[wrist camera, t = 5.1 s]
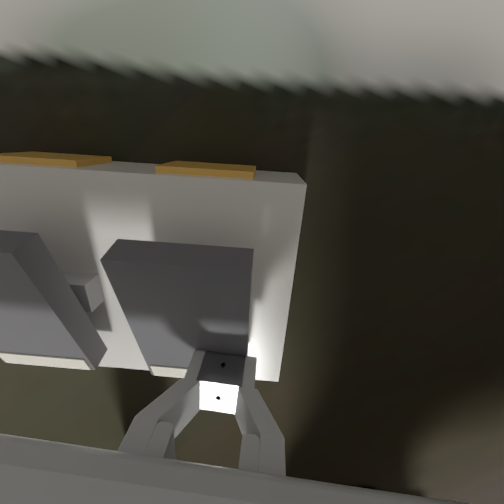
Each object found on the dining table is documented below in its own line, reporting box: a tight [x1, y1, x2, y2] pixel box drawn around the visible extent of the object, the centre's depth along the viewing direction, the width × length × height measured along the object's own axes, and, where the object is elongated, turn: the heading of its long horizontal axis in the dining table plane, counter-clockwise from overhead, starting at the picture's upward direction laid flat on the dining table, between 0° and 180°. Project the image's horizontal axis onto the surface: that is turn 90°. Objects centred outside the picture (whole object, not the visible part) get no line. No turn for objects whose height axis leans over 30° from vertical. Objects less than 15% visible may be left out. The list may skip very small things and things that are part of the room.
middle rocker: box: [0, 230, 107, 370], centre depth 11 cm, size 5×8×1 cm, turn 177°
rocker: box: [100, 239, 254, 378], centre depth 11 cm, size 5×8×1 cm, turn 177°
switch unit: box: [0, 152, 307, 382], centre depth 15 cm, size 25×12×5 cm, turn 87°
